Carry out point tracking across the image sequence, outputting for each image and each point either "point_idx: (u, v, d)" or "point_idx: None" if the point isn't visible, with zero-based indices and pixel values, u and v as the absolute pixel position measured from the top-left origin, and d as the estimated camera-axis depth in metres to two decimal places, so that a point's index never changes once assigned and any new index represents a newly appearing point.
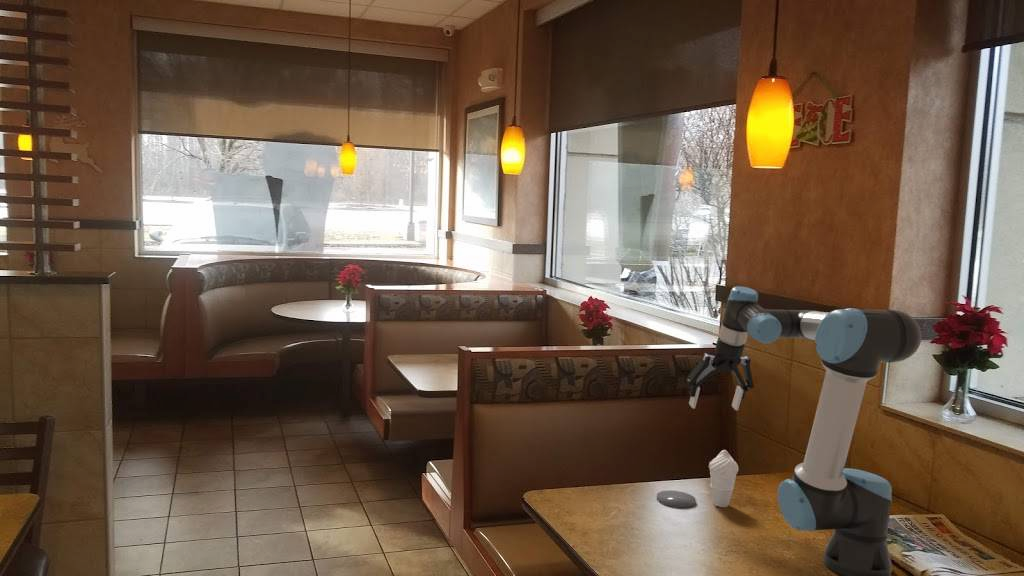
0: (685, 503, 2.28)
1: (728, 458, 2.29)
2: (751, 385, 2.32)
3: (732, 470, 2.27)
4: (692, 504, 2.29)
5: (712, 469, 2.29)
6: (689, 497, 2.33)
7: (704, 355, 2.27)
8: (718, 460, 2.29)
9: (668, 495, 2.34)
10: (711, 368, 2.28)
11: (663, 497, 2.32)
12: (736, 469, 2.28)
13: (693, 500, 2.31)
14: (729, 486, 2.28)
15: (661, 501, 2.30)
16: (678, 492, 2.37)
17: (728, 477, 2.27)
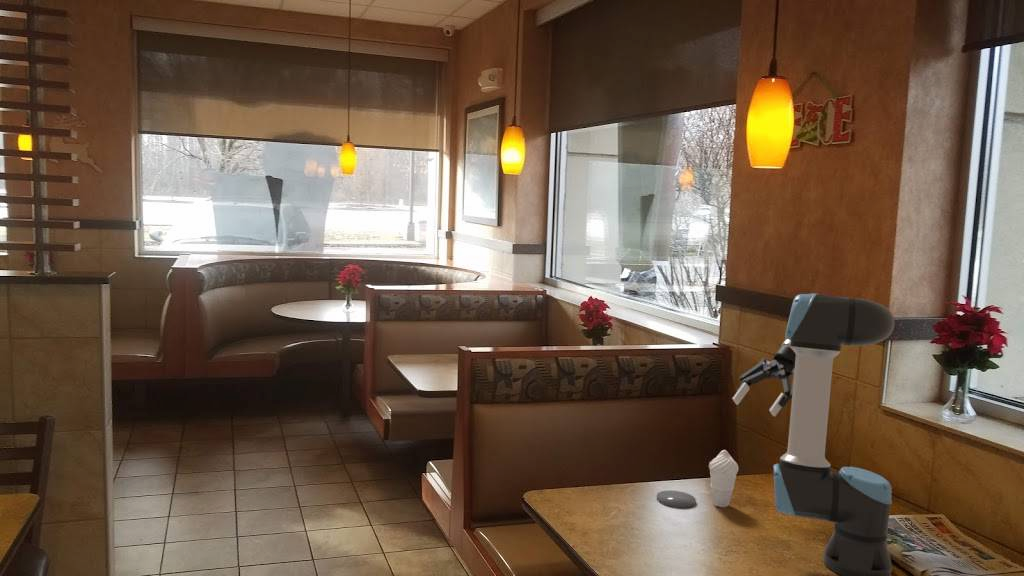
0: (685, 503, 2.28)
1: (728, 458, 2.29)
2: (792, 390, 2.28)
3: (732, 470, 2.27)
4: (692, 504, 2.29)
5: (712, 469, 2.29)
6: (689, 497, 2.33)
7: None
8: (718, 460, 2.29)
9: (668, 495, 2.34)
10: None
11: (663, 497, 2.32)
12: (736, 469, 2.28)
13: (693, 500, 2.31)
14: (729, 486, 2.28)
15: (661, 501, 2.30)
16: (678, 492, 2.37)
17: (728, 477, 2.27)
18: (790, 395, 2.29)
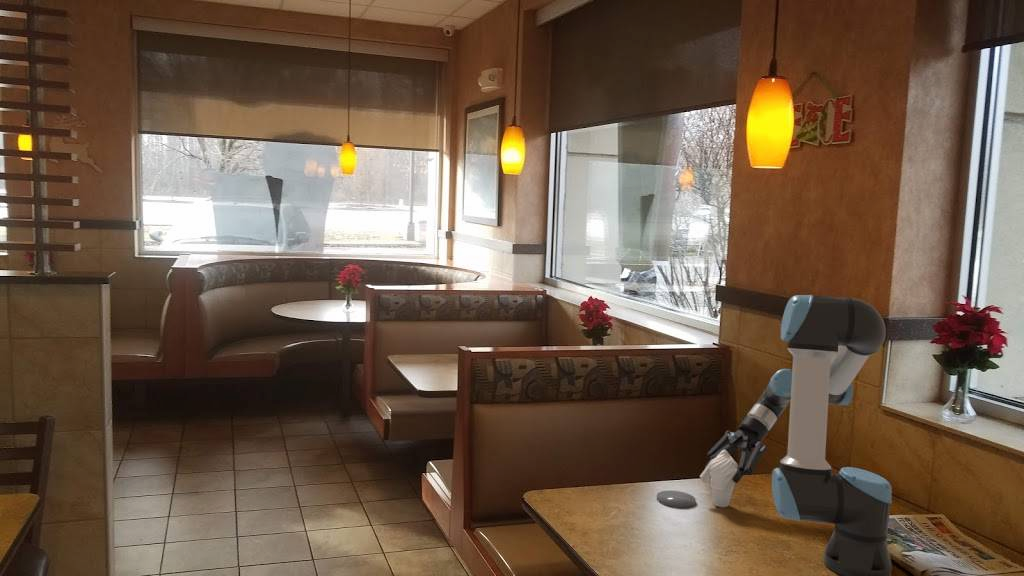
0: (685, 503, 2.28)
1: (728, 458, 2.29)
2: (746, 466, 2.25)
3: (732, 470, 2.27)
4: (692, 504, 2.29)
5: (712, 469, 2.29)
6: (689, 497, 2.33)
7: None
8: (718, 460, 2.29)
9: (668, 495, 2.34)
10: None
11: (663, 497, 2.32)
12: None
13: (693, 500, 2.31)
14: None
15: (661, 501, 2.30)
16: (678, 492, 2.37)
17: (728, 477, 2.27)
18: (744, 471, 2.26)
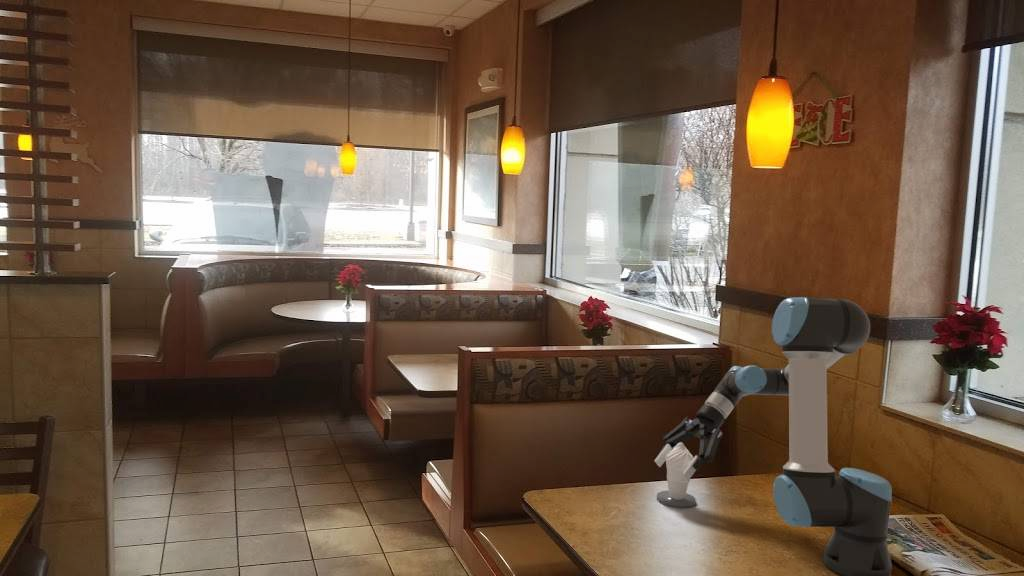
0: (685, 503, 2.28)
1: (683, 450, 2.30)
2: (707, 453, 2.25)
3: (687, 462, 2.28)
4: (692, 504, 2.29)
5: (668, 461, 2.30)
6: (689, 497, 2.33)
7: None
8: (674, 452, 2.30)
9: (668, 495, 2.34)
10: None
11: (663, 497, 2.32)
12: None
13: (693, 500, 2.31)
14: (685, 478, 2.29)
15: (661, 501, 2.30)
16: None
17: (684, 469, 2.28)
18: (704, 458, 2.26)
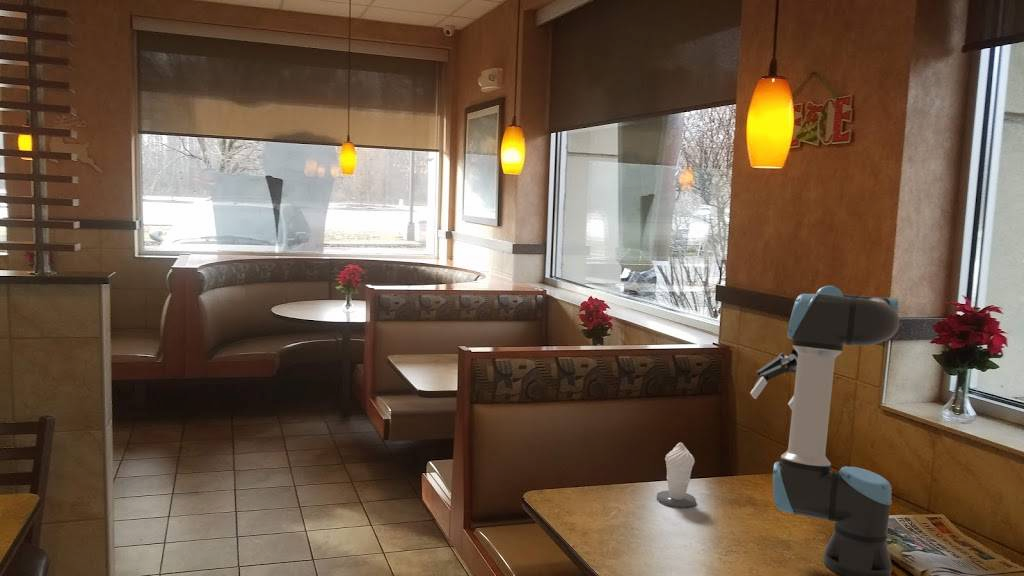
0: (685, 503, 2.28)
1: (683, 451, 2.30)
2: None
3: (687, 463, 2.28)
4: (692, 504, 2.29)
5: (668, 462, 2.30)
6: (689, 497, 2.33)
7: None
8: (674, 453, 2.30)
9: (668, 495, 2.34)
10: None
11: (663, 497, 2.32)
12: (692, 462, 2.29)
13: (693, 500, 2.31)
14: (685, 479, 2.29)
15: (661, 501, 2.30)
16: None
17: (684, 470, 2.28)
18: None
